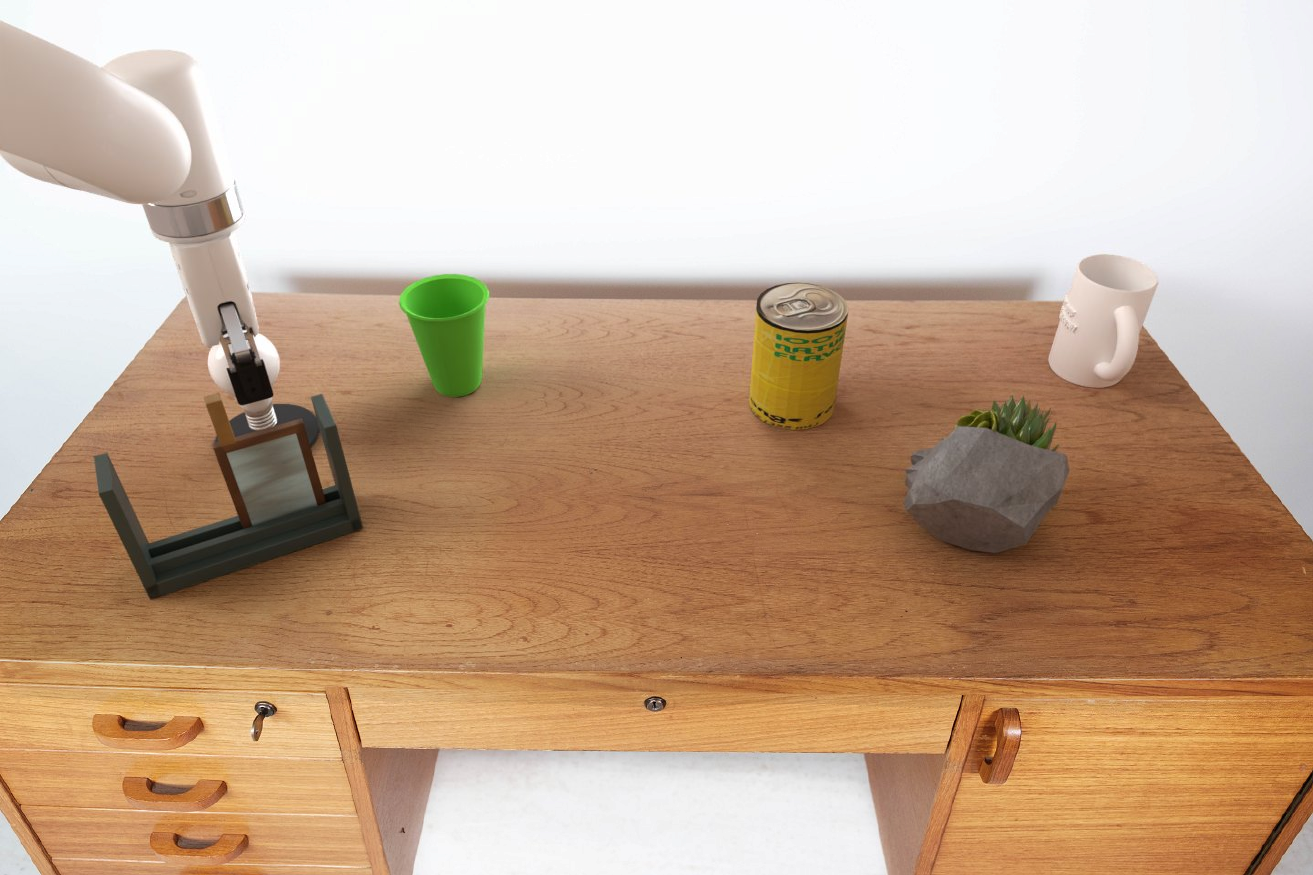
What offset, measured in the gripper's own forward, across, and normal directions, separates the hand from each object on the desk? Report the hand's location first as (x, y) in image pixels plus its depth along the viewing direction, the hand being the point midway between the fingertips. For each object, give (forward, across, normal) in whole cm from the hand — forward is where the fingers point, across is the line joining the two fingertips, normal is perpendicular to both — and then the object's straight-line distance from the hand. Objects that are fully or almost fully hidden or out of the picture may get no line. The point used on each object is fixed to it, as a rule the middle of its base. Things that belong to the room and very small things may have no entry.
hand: (248, 379), depth 93 cm
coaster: (+7, 0, 0) cm, 7 cm away
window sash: (+6, +15, -1) cm, 16 cm away
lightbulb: (+6, 0, 0) cm, 6 cm away
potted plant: (+8, +42, +55) cm, 70 cm away
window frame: (+7, +15, -4) cm, 17 cm away
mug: (+7, +31, +82) cm, 88 cm away
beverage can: (+7, +20, +50) cm, 54 cm away
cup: (+8, 0, +20) cm, 21 cm away
